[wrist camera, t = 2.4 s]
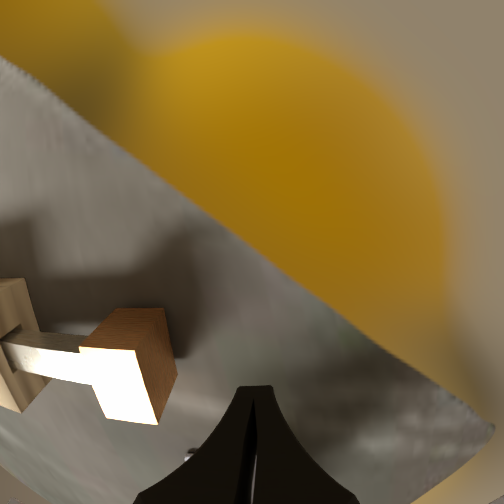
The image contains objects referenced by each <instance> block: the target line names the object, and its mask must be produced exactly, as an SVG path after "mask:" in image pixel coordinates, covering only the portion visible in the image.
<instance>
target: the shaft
mask: <svg viewBox="0 0 504 504" xmlns="http://www.w3.org/2000/svg"><path fill="white" fill-rule="evenodd" d="M0 345H1V347H2V350H3V352H4V355H5V357H6V360H7V362H8V364H9V367H11V368H15V369H19V370H23V371H27V372H31V373H35V374H40V375H44V376H49V377H54V378H59V379H64V380H70V381H76V382H82V383H88V384H92V385H93V387H94V390H95V392H96V395H97V397H98V399H99V402H100V404H101V406H102V409H103V411H104V413H105V415H106V417H107V418H112V419H119V420H125V421H132V422H139V423H148V424H156V425H158V423H159V421H160V418H161V415H162V413H163V410H164V408H165V405H166V403H167V400H168V398H169V395H170V393H171V390H172V388H173V385H174V383H175V380H176V378H177V375H178V373H177V369H176V365H175V360H174V356H173V351H172V347H171V342H170V337H169V332H168V328H167V322H166V317H165V312H164V308H116V309H115V310H114V311H113V312H112V313H111V314H110V315H109V316H108V317H107V318H106V319H105V320H104V321H103V322H102V323H101V324H100V325H99V326H98V327H97V328H96V329H95V330H94V331H93V332H92V333H91V334H90V335H89V336H84V335H72V334H61V333H51V332H41V331H33V330H24V329H17V328H14V329H12V330H11V331H10V332H8V333H7V334H6V335H4V336H3V337H2V338H0Z"/></svg>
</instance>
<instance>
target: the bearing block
mask: <svg viewBox="0 0 504 504" xmlns="http://www.w3.org/2000/svg"><path fill="white" fill-rule="evenodd" d="M14 328H17V329H24V330H33V331H40V330H39V327H38V324H37V321H36V317H35V314H34V311H33V307H32V304H31V300H30V297H29V293H28V289H27V285H26V281H25V278H0V338H2V337H3V336H4V335H6V334H7V333H8V332H10V331H11V330H12V329H14ZM52 378H53V377H49V376H44V375H40V374H35V373H31V372H27V371H23V370H19V369H15V368H11V367H9V364H8V362H7V360H6V357H5V355H4V352H3V350H2V347H1V345H0V405H1V406H3V407H6V408H8V409H11V410H13V411H16V412H19V413H21V414H22V412H23V411H24V410H25V409H26V408H27V407H28V405H29V404H30V403H31V402H32V401H33V400H34V399H35V397H36V396H37V395H38V394H39V393H40V392H41V391H42V389H43V388H44V387H45V386H46V385H47V384H48V383H49V382H50V381H51V379H52Z"/></svg>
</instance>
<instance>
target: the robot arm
mask: <svg viewBox="0 0 504 504" xmlns="http://www.w3.org/2000/svg"><path fill="white" fill-rule="evenodd" d="M256 452H257V455H256ZM184 459H185V462H184V463H183V464H182V465H181V466H180V467H179V468H177V469H176V470H175V471H173V472H172V473H171V474H169V475H168V476H167V477H165V478H164V479H162V480H161V481H159V482H158V483H156V484H154V485H153V486H151V487H149V488H148V489H146V490H144V491H142V492H140V493H139V494H138V495H137V497H136V499H135V501H134V503H133V504H360V503H359V501H358V500H357V498H356V496H355V495H354V494H353V493H351V492H350V491H348V490H347V489H346V488H344V487H343V486H342V485H340V484H339V483H338V482H336V481H335V480H334V479H333V478H332V477H330V476H329V475H328V474H327V473H326V472H325V471H324V470H323V469H322V468H321V467H320V466H319V465H318V464H317V463H316V462H315V461H314V460H313V459H312V458H311V457H310V455H309V454H308V453H307V452H306V451H305V449H304V448H303V447H302V446H301V444H300V443H299V441H298V440H297V439H296V437H295V436H294V434H293V432H292V431H291V429H290V428H289V426H288V424H287V422H286V421H285V419H284V417H283V415H282V413H281V411H280V408H279V406H278V403H277V401H276V398H275V395H274V390H273V387H272V386H271V385H266V386H240V387H238V388H237V390H236V393H235V395H234V398H233V400H232V402H231V404H230V405H229V407H228V409H227V411H226V412H225V414H224V416H223V417H222V419H221V421H220V422H219V424H218V425H217V426H216V428H215V429H214V431H213V432H212V433H211V435H210V436H209V437H208V438H207V440H206V441H205V442H204V443H203V444H202V446H201V447H200V448H199V449H198V450H197V451H196V452H195V453H194V454H186V455H185V458H184ZM7 504H24V503H22V502H20V501H19V500H16V499H15V498H13V497H11V498H10V500H9V501H8V503H7ZM489 504H504V495H503V496H501V497H500V498H498V499H496V500H494V501H492V502H491V503H489Z"/></svg>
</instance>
